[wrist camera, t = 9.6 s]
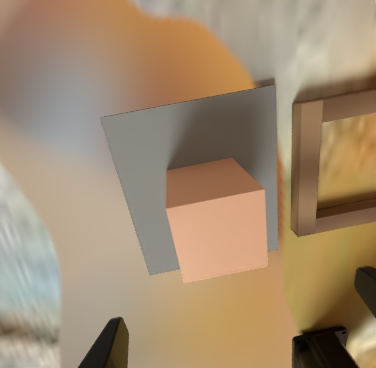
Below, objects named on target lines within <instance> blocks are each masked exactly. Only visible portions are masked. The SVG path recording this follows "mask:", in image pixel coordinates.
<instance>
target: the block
mask: <svg viewBox="0 0 376 368" xmlns="http://www.w3.org/2000/svg"><path fill="white" fill-rule="evenodd" d="M166 212H167V216H168V220H169V224H170V228H171V232H172V237H173V241H174V245H175V249H176V253H177V257H178V261H179V265H180V269H181V273H182V277H183V282H184V283H187V282H193V281H198V280H203V279H208V278H212V277H217V276H222V275H227V274H232V273H237V272H242V271H247V270H252V269H256V268H262V267H267V266H268V255H267V231H266V206H265V189H264V188H263V187H262V186H261V185H260V184H259V183H258V182H257V181H256V180H255V179H254V178H252V177H251V176H250V175H249V174H248V173H247V172H246V171H245V170H244V169H243V168H242V167H241V166H240V165H239V164H238V163H237V162H236V161H235V160H234V159H233V158H227V159H222V160H217V161H212V162H207V163H202V164H197V165H191V166H186V167H181V168H176V169H171V170H166Z"/></svg>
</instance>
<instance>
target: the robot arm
mask: <svg viewBox="0 0 376 368" xmlns="http://www.w3.org/2000/svg"><path fill="white" fill-rule="evenodd" d="M354 286H355V289H356V290H357V292H358V293H359V295H360V296H361V298H362V299H363V301H364V302H365V303H366V305H367V306H368V308H369V309H370V311H371V312H372V313H373V315H374V316H375V318H376V269H375V268H373V267H370V266H364V267H359V268H357V270H356V274H355V280H354ZM347 335H348V330H347V329H346V328H345V327H338V328H333V329H328V330H324V331H319V332H314V333H309V334H304V335H300V336H296V337H294V338H293V339H292V368H360V367H359V366H358V364H357V363H356V362H355V360H354V359H353V357H352V356H351V355H350V353H349V352H348V350H347V349H346V348H345V347H346V341H347ZM128 344H129V333H128V329H127V327H126V324H125V322H124V320H123V318H122V317H116V318H112V319H110V320H109V322H108V323H107V325H106V326H105V328H104V329H103V331H102V332H101V334H100V335H99V337H98V338H97V340H96V341H95V343H94V344H93V346H92V347H91V349H90V350H89V352H88V353H87V355H86V356H85V358H84V359H83V361H82V362H81V364H80V365H79V367H78V368H127V365H128Z"/></svg>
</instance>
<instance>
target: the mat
mask: <svg viewBox="0 0 376 368" xmlns="http://www.w3.org/2000/svg"><path fill="white" fill-rule="evenodd" d="M100 120H101V123H102V126H103V130H104V133H105V136H106V139H107V142H108V145H109V149H110V152H111V155H112V158H113V161H114V164H115V168H116V171H117V174H118V177H119V180H120V183H121V186H122V190H123V193H124V196H125V199H126V202H127V205H128V209H129V211H130V215H131V218H132V221H133V224H134V227H135V231H136V234H137V237H138V240H139V243H140V246H141V250H142V253H143V256H144V259H145V262H146V265H147V268H148V272H149V274H150V275H153V274H159V273H164V272H169V271H174V270H179V269H180V265H179V261H178V257H177V253H176V249H175V245H174V241H173V237H172V232H171V228H170V224H169V220H168V216H167V212H166V170H171V169H176V168H181V167H186V166H191V165H197V164H202V163H207V162H212V161H217V160H222V159H227V158H233V159H234V160H235V161H236V162H237V163H238V164H239V165H240V166H241V167H242V168H243V169H244V170H245V171H246V172H247V173H248V174H249V175H250V176H251V177H252V178H254V179H255V180H256V181H257V182H258V183H259V184H260V185H261V186H262V187H263V188H264V189H265V206H266V231H267V252H268V251H273V250H278V210H277V209H278V206H277V141H276V85H270V86H265V87H260V88H254V89H249V90H244V91H238V92H233V93H228V94H222V95H217V96H212V97H206V98H201V99H196V100H191V101H185V102H180V103H174V104H169V105H164V106H159V107H153V108H148V109H143V110H137V111H132V112H127V113H121V114H116V115H111V116H105V117H101V118H100Z"/></svg>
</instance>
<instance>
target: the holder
mask: <svg viewBox="0 0 376 368" xmlns="http://www.w3.org/2000/svg"><path fill="white" fill-rule="evenodd" d="M375 112H376V88H373V89H367V90H362V91H357V92H351V93H346V94H341V95H336V96H330V97H325V98H320V99H315V100H309V101H304V102H299V103H294V104H292V171H291V230H292V231H293V232H294V233H295V234H296V235H297V236H298V237H300V236H305V235H310V234H315V233H320V232H325V231H330V230H335V229H340V228H345V227H350V226H355V225H360V224H365V223H370V222H375V221H376V198H375V199H370V200H365V201H360V202H355V203H350V204H345V205H340V206H335V207H330V208H325V209H320V210H316V207H317V191H318V175H319V159H320V143H321V128H322V123H323V122H328V121H333V120H339V119H344V118H349V117H354V116H359V115H365V114H370V113H375Z"/></svg>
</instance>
